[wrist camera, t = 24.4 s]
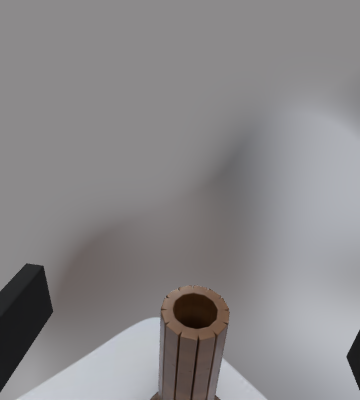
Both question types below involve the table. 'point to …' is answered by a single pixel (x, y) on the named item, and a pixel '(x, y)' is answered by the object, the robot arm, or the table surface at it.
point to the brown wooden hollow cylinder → (191, 343)
